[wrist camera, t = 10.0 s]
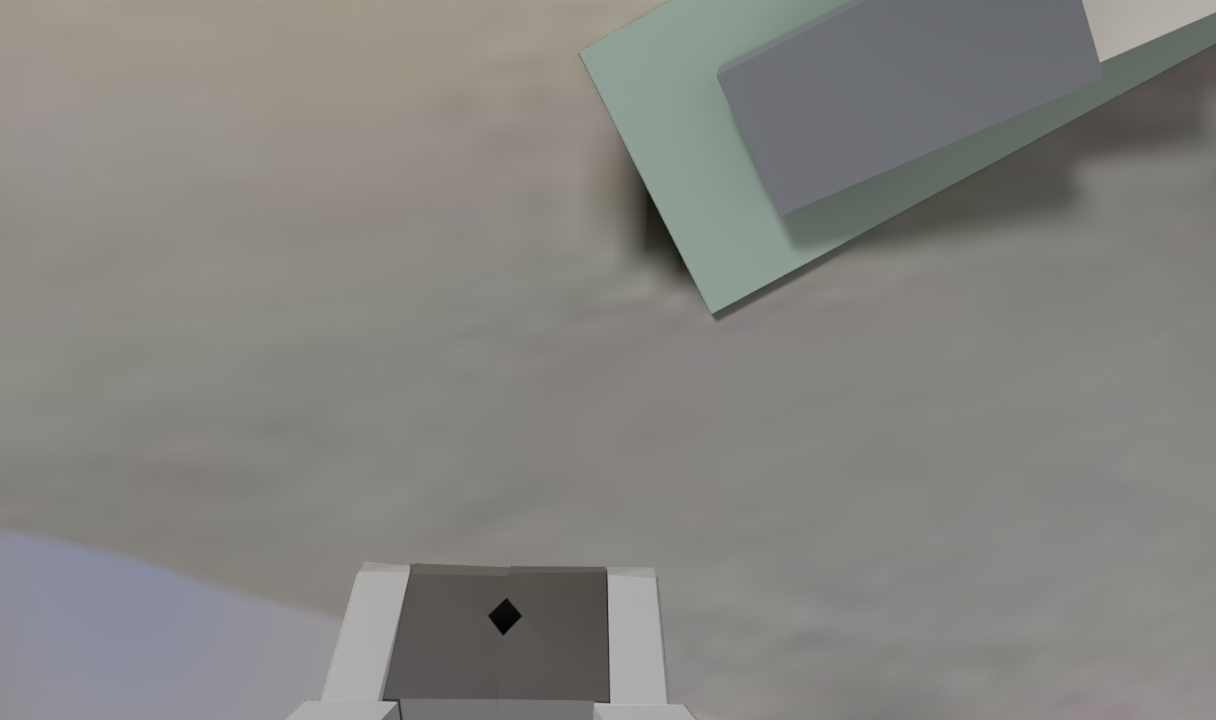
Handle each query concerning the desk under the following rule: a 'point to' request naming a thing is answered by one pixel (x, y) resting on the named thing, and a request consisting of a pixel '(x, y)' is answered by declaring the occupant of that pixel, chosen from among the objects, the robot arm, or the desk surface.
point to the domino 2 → (1139, 21)
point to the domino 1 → (897, 84)
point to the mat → (725, 169)
